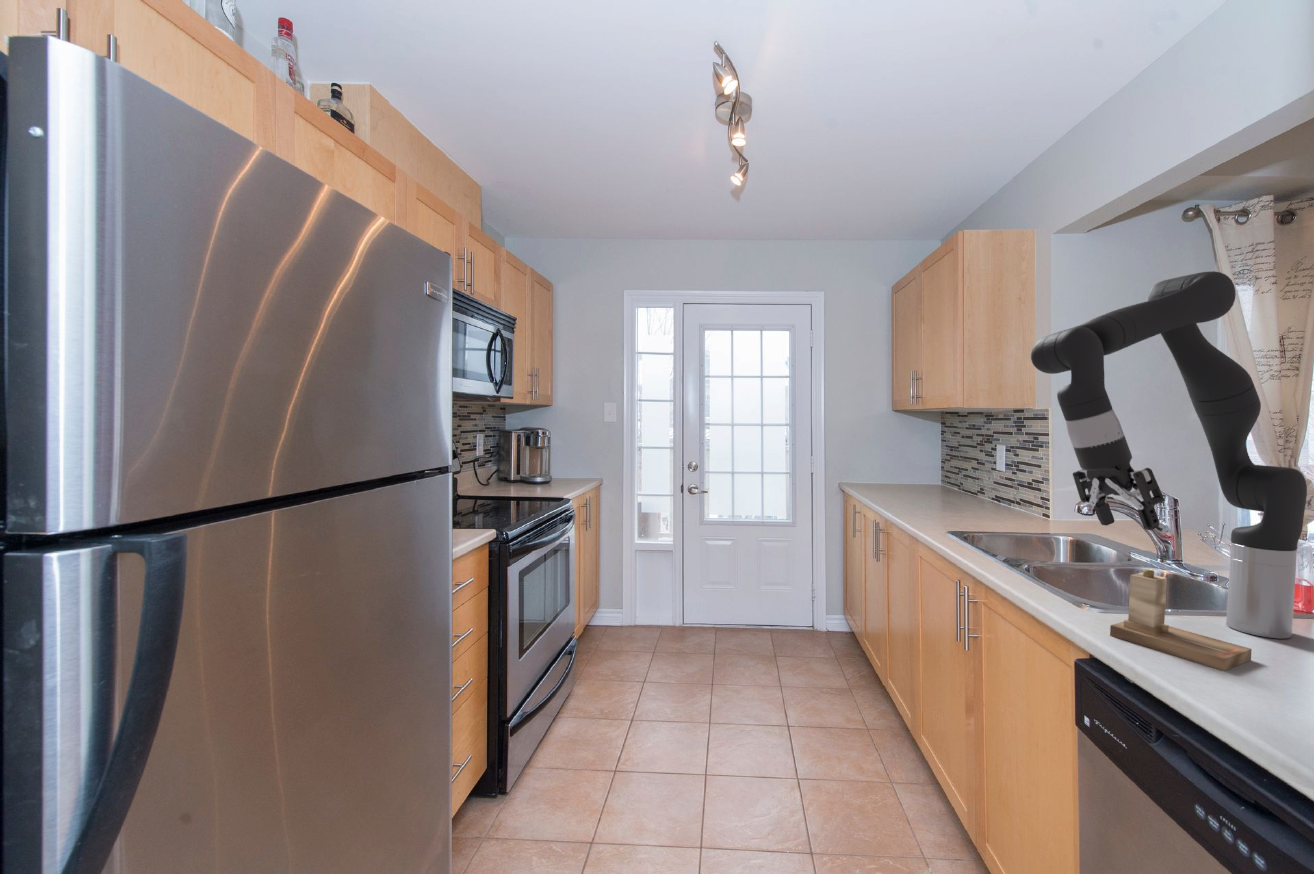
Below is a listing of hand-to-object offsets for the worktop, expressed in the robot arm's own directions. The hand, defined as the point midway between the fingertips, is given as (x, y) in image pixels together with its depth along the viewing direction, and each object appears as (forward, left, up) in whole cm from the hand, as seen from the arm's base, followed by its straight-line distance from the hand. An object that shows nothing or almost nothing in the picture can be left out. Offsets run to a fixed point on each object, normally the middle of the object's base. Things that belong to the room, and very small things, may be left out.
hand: (1129, 526), depth 103 cm
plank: (-15, +2, -24) cm, 28 cm away
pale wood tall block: (-14, -3, -22) cm, 26 cm away
